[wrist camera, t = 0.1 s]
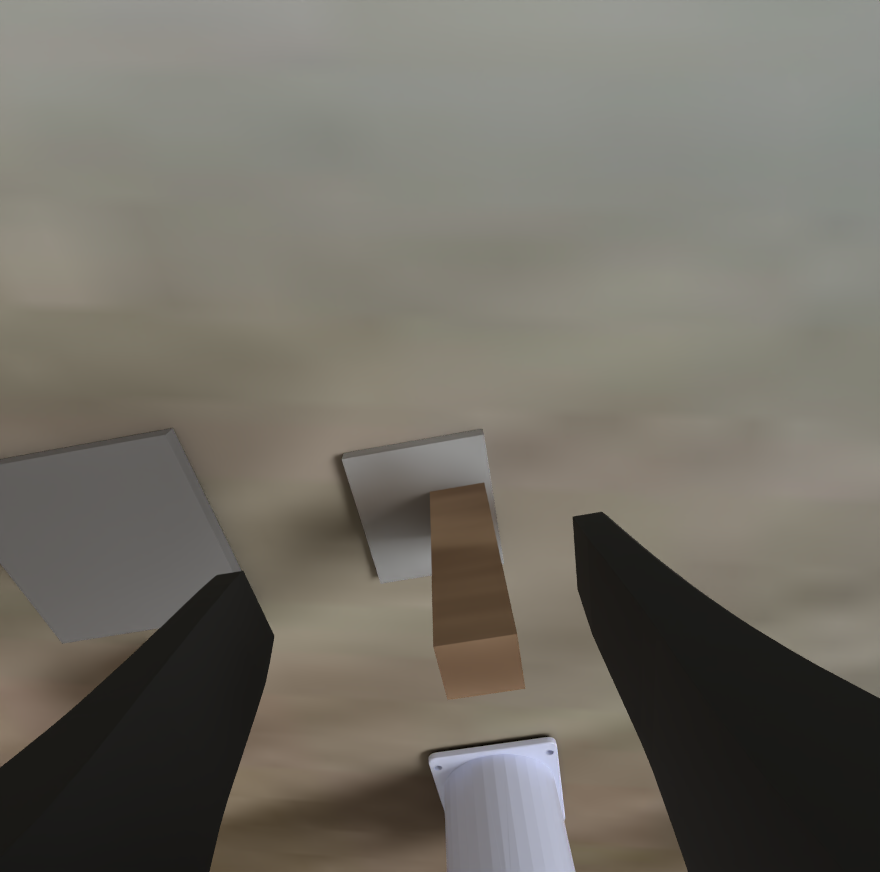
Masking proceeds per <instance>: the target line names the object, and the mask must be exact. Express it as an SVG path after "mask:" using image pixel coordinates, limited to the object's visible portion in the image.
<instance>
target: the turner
mask: <svg viewBox="0 0 880 872" xmlns="http://www.w3.org/2000/svg"><path fill="white" fill-rule="evenodd" d="M342 462H343V465H344V468H345V471H346V475H347V478H348V481H349V484H350V487H351V491H352V494H353V497H354V500H355V503H356V506H357V510H358V513H359V516H360V519H361V522H362V526H363V529H364V532H365V535H366V538H367V541H368V545H369V548H370V551H371V554H372V557H373V561H374V564H375V567H376V570H377V573H378V576H379V580H380V583H387V582H393V581H399V580H406V579H412V578H418V577H424V576H431V575H432V607H433V647H434V651H435V654H436V658H437V662H438V666H439V669H440V673H441V677H442V680H443V684H444V688H445V692H446V695H447V699H448V700H450V699H457V698H464V697H471V696H478V695H485V694H491V693H498V692H505V691H512V690H519V689H525V684H524V677H523V670H522V664H521V657H520V651H519V644H518V637H517V632H516V627H515V622H514V618H513V613H512V609H511V604H510V599H509V595H508V590H507V585H506V581H505V576H504V571H503V567H502V564H504V561H503V555H502V548H501V542H500V535H499V529H498V522H497V516H496V509H495V503H494V496H493V490H492V483H491V477H490V470H489V464H488V457H487V451H486V445H485V438H484V433H483V429H479V430H473V431H468V432H462V433H456V434H451V435H445V436H439V437H433V438H428V439H422V440H416V441H410V442H405V443H399V444H393V445H387V446H382V447H376V448H370V449H365V450H359V451H353V452H347V453H344V454H343V457H342Z"/></svg>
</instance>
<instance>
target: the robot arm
mask: <svg viewBox="0 0 880 872" xmlns="http://www.w3.org/2000/svg"><path fill="white" fill-rule="evenodd" d="M573 529H574V543H575V558H576V573H577V587H578V592H579V595H580V598H581V601H582V604H583V607H584V611H585V614H586V617H587V620H588V623H589V626H590V629H591V632H592V635H593V637H594V639H595V641H596V644H597V646H598V648H599V650H600V653H601V655H602V657H603V659H604V662H605V664H606V666H607V668H608V670H609V673H610V675H611V677H612V679H613V681H614V684H615V686H616V688H617V690H618V692H619V695H620V697H621V699H622V701H623V703H624V706H625V708H626V710H627V712H628V714H629V717H630V719H631V721H632V723H633V725H634V728H635V730H636V732H637V734H638V736H639V739H640V741H641V743H642V746H643V748H644V751H645V753H646V755H647V758H648V760H649V763H650V765H651V768H652V770H653V773H654V776H655V779H656V781H657V784H658V787H659V790H660V793H661V795H662V798H663V801H664V804H665V807H666V809H667V812H668V815H669V818H670V821H671V823H672V826H673V829H674V832H675V835H676V838H677V841H678V844H679V846H680V849H681V852H682V855H683V858H684V861H685V864H686V867H687V870H688V872H880V698H878V697H876V696H874V695H872V694H870V693H868V692H867V691H865V690H863V689H861V688H859V687H857V686H855V685H853V684H851V683H850V682H848V681H846V680H844V679H842V678H840V677H838V676H836V675H834V674H833V673H831V672H829V671H827V670H825V669H823V668H821V667H819V666H818V665H816V664H814V663H812V662H811V661H809V660H807V659H805V658H803V657H802V656H800V655H798V654H796V653H795V652H793V651H791V650H789V649H788V648H786V647H785V646H783V645H781V644H780V643H778V642H776V641H775V640H773V639H771V638H770V637H768V636H766V635H765V634H763V633H762V632H760V631H758V630H757V629H755V628H753V627H752V626H750V625H749V624H747V623H746V622H744V621H742V620H741V619H739V618H738V617H737V616H735V615H734V614H732V613H731V612H729V611H728V610H726V609H725V608H723V607H722V606H720V605H719V604H718V603H716V602H715V601H713V600H712V599H710V598H709V597H708V596H706V595H705V594H703V593H702V592H701V591H699V590H698V589H697V588H695V587H694V586H692V585H691V584H690V583H688V582H687V581H686V580H684V579H683V578H682V577H681V576H679V575H678V574H677V573H675V572H674V571H673V570H672V569H670V568H669V567H668V566H666V565H665V564H664V563H663V562H661V561H660V560H659V559H658V558H656V557H655V556H654V555H653V554H651V553H650V552H649V551H648V550H647V549H645V548H644V547H643V546H642V545H641V544H639V543H638V542H637V541H636V540H635V539H633V538H632V537H631V536H630V535H629V534H628V533H626V532H625V531H624V530H623V529H622V528H621V527H619V526H618V525H617V524H616V523H615V522H614V521H613V520H611V519H610V518H609V517H608V516H607V515H605V514H604V513H603V512H598V513H592V514H586V515H580V516H574V517H573ZM273 641H274V634H273V632H272V630H271V628H270V626H269V624H268V622H267V620H266V617H265V615H264V613H263V611H262V609H261V607H260V605H259V603H258V601H257V599H256V597H255V595H254V592H253V590H252V588H251V586H250V584H249V582H248V580H247V578H246V576H245V574H244V572H243V571H238V572H232V573H226V574H220V575H216V576H215V577H214V578H212V579H211V580H210V581H209V582H208V583H207V584H206V585H204V586H203V587H202V588H201V589H200V590H199V591H198V592H197V593H196V594H195V595H194V596H193V597H192V598H191V599H189V600H188V601H187V602H186V603H185V604H184V605H183V606H182V607H181V608H180V609H179V610H178V611H177V612H176V613H175V614H174V615H173V616H172V617H171V618H170V619H169V620H168V621H167V622H166V623H165V624H164V625H163V626H162V627H160V628H159V629H158V630H157V631H156V632H155V633H154V634H153V635H152V636H151V637H150V638H149V639H148V640H147V641H146V642H145V643H144V644H143V645H142V646H141V647H140V648H139V649H138V650H137V651H136V652H134V653H133V654H132V655H131V656H130V657H129V658H128V659H127V660H126V661H125V662H124V663H123V664H122V665H120V666H119V667H118V668H117V669H116V670H115V671H114V672H113V673H112V674H111V675H109V676H108V677H107V678H106V679H105V680H104V681H103V682H102V683H101V684H99V685H98V686H97V687H96V688H95V689H94V690H93V691H92V692H91V693H90V694H88V695H87V696H86V697H85V698H84V699H83V700H82V701H81V702H80V703H79V704H77V705H76V706H75V707H74V708H73V709H72V710H70V711H69V712H68V713H67V714H66V715H65V716H63V717H62V718H61V719H60V720H59V721H57V722H56V723H55V724H54V725H53V726H51V727H50V728H49V729H48V730H47V731H45V732H44V733H43V734H42V735H40V736H39V737H38V738H37V739H36V740H34V741H33V742H32V743H31V744H29V745H28V746H27V747H26V748H24V749H23V750H22V751H21V752H19V753H18V754H17V755H16V756H14V757H13V758H12V759H11V760H9V761H8V762H7V763H5V764H4V765H3V766H2V767H0V872H209V871H210V867H211V862H212V858H213V854H214V849H215V845H216V841H217V837H218V832H219V828H220V825H221V821H222V818H223V814H224V811H225V807H226V804H227V800H228V797H229V794H230V791H231V788H232V785H233V782H234V779H235V776H236V773H237V770H238V767H239V764H240V761H241V758H242V755H243V752H244V749H245V746H246V743H247V739H248V736H249V733H250V730H251V727H252V724H253V721H254V718H255V715H256V712H257V709H258V706H259V702H260V699H261V696H262V693H263V690H264V686H265V683H266V678H267V673H268V669H269V664H270V659H271V653H272V647H273ZM429 766H430V769H431V772H432V775H433V778H434V781H435V784H436V787H437V790H438V793H439V796H440V799H441V803H442V806H443V809H444V812H445V830H446V858H447V872H575V868H574V863H573V859H572V854H571V850H570V846H569V841H568V837H567V832H566V828H565V823H564V820H565V812H564V803H563V795H562V786H561V777H560V769H559V760H558V751H557V744H556V741H555V739H554V738H552V737H543V738H536V739H529V740H522V741H515V742H507V743H500V744H493V745H486V746H479V747H472V748H464V749H457V750H450V751H443V752H436V753H432V754H431V755H430V756H429Z"/></svg>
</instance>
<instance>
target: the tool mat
mask: <svg viewBox="0 0 880 872" xmlns="http://www.w3.org/2000/svg"><path fill="white" fill-rule="evenodd" d="M0 564H1V565H2V566H3V568H4V569H5V570H6V572H7V573H8V574H9V575H10V577H11V578H12V579H13V581H14V582H15V583H16V584H17V586H18V587H19V588H20V590H21V591H22V592H23V593H24V595H25V596H26V597H27V599H28V600H29V601H30V603H31V604H32V605H33V606H34V608H35V609H36V610H37V612H38V613H39V614H40V615H41V617H42V618H43V619H44V621H45V622H46V623H47V624H48V626H49V627H50V628H51V630H52V631H53V632H54V633H55V635H56V636H57V637H58V639H59V640H60V641H61V642H62V643H69V642H75V641H81V640H87V639H94V638H100V637H106V636H113V635H119V634H125V633H132V632H138V631H144V630H151V629H157V628H160V627H162V626H163V625H164V624H165V623H166V622H167V621H168V620H169V619H170V618H171V617H172V616H173V615H174V614H175V613H176V612H177V611H178V610H179V609H180V608H181V607H182V606H183V605H184V604H185V603H186V602H187V601H188V600H189V599H191V598H192V597H193V596H194V595H195V594H196V593H197V592H198V591H199V590H200V589H201V588H202V587H203V586H204V585H206V584H207V583H208V582H209V581H210V580H211V579H212V578H214V577H215V576H216V575H220V574H226V573H232V572H238V571H241V568H240V566H239V564H238V562H237V560H236V558H235V556H234V554H233V552H232V550H231V548H230V546H229V544H228V542H227V539H226V537H225V535H224V533H223V531H222V529H221V527H220V525H219V523H218V521H217V519H216V517H215V515H214V513H213V510H212V508H211V506H210V504H209V502H208V500H207V498H206V496H205V494H204V492H203V490H202V488H201V486H200V484H199V481H198V479H197V477H196V475H195V473H194V471H193V469H192V467H191V465H190V463H189V461H188V459H187V457H186V454H185V452H184V450H183V448H182V446H181V444H180V442H179V440H178V438H177V436H176V434H175V432H174V430H173V428H171V429H165V430H160V431H154V432H149V433H143V434H138V435H132V436H127V437H121V438H115V439H110V440H104V441H99V442H93V443H88V444H82V445H77V446H71V447H66V448H60V449H55V450H49V451H44V452H38V453H33V454H27V455H21V456H16V457H10V458H5V459H0Z"/></svg>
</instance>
